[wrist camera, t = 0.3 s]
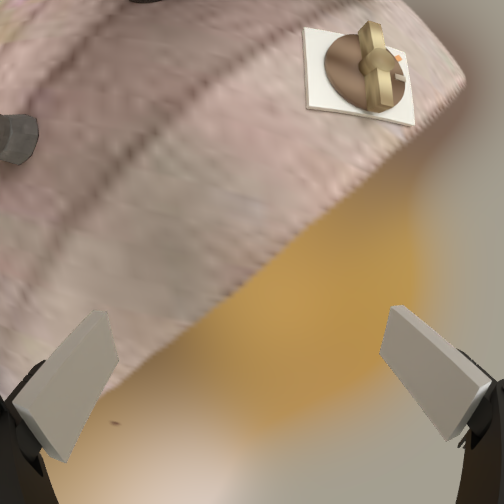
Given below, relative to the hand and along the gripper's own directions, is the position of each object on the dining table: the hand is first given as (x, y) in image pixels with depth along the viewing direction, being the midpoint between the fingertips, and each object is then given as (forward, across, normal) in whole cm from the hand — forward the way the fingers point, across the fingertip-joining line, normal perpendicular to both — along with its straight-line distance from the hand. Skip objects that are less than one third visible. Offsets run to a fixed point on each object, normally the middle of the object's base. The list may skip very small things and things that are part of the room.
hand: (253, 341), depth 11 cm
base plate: (+27, +18, +25) cm, 41 cm away
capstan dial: (+25, +18, +25) cm, 40 cm away
